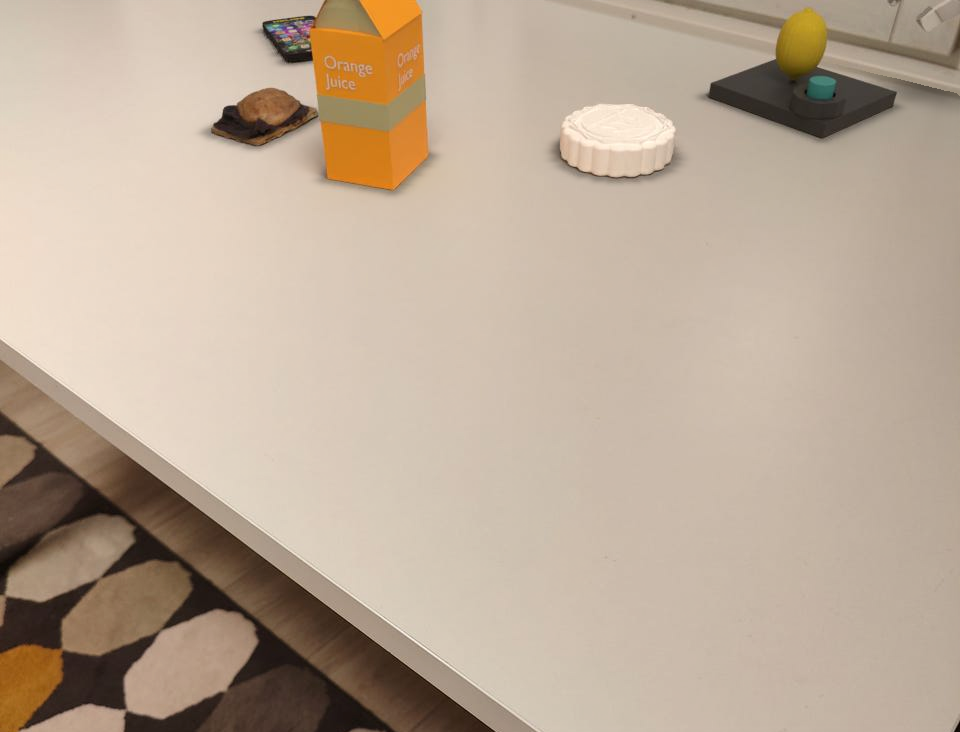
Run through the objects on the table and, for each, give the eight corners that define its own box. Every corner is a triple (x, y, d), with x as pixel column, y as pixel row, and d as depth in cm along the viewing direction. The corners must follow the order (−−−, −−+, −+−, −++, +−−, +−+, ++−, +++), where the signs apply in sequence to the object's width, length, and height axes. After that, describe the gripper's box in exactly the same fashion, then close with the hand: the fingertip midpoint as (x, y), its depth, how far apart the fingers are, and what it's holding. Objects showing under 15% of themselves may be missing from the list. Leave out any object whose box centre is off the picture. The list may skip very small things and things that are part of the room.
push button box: (893, 106, 110) (902, 75, 108) (820, 139, 103) (827, 107, 101) (780, 69, 119) (786, 40, 117) (706, 98, 113) (710, 67, 110)
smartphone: (284, 55, 121) (259, 21, 132) (285, 63, 122) (260, 28, 132) (343, 47, 123) (314, 14, 134) (344, 55, 124) (315, 21, 134)
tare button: (837, 96, 104) (841, 80, 103) (822, 103, 103) (826, 87, 102) (816, 89, 106) (819, 73, 105) (800, 96, 105) (804, 79, 103)
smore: (270, 102, 113) (265, 70, 110) (324, 117, 109) (320, 84, 107) (204, 131, 106) (198, 98, 104) (259, 148, 103) (253, 114, 100)
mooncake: (628, 189, 95) (632, 155, 92) (536, 156, 101) (537, 122, 98) (694, 152, 101) (699, 118, 99) (604, 122, 107) (607, 90, 105)
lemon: (800, 92, 109) (816, 18, 104) (760, 79, 112) (773, 7, 107) (827, 80, 112) (844, 8, 106) (787, 68, 115) (802, -3, 109)
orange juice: (326, 178, 97) (299, -37, 84) (364, 145, 103) (345, -61, 90) (395, 190, 95) (378, -29, 81) (430, 156, 101) (421, -54, 87)
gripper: (1082, -40, 96) (957, 64, 102) (985, -86, 111) (881, 7, 117) (1058, -89, 92) (930, 21, 98) (961, -130, 107) (855, -32, 113)
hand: (903, 13), depth 108 cm, fingers open, 8 cm apart
